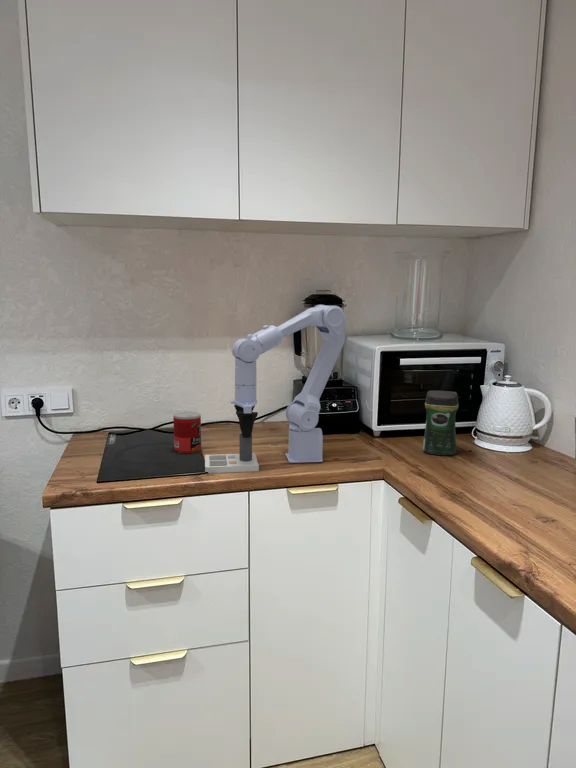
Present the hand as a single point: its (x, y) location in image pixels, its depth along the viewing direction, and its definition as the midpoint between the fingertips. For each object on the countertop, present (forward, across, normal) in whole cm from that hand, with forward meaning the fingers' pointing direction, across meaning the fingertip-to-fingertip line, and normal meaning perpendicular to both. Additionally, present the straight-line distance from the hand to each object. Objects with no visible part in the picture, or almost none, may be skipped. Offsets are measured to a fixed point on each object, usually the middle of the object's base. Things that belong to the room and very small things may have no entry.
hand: (245, 433), depth 154 cm
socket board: (+9, 0, -4) cm, 10 cm away
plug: (+7, 0, 0) cm, 7 cm away
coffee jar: (+9, -6, +58) cm, 59 cm away
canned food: (+9, -16, -16) cm, 24 cm away
